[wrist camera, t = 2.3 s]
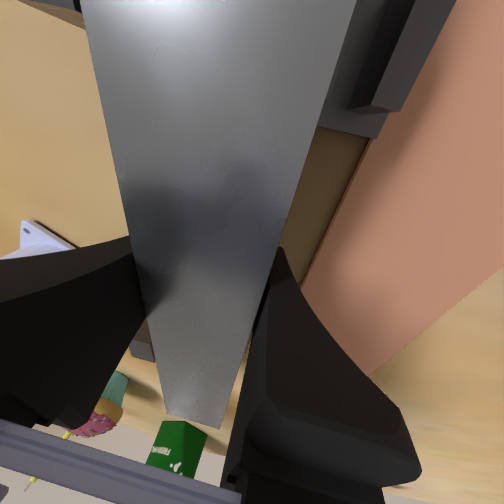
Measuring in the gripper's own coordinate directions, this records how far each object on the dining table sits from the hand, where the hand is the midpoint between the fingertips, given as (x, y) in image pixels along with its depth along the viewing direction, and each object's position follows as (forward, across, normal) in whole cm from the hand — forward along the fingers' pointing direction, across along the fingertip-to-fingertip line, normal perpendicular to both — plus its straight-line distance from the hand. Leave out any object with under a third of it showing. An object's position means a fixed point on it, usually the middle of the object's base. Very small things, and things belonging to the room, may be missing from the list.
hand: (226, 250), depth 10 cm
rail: (0, 0, 0) cm, 0 cm away
